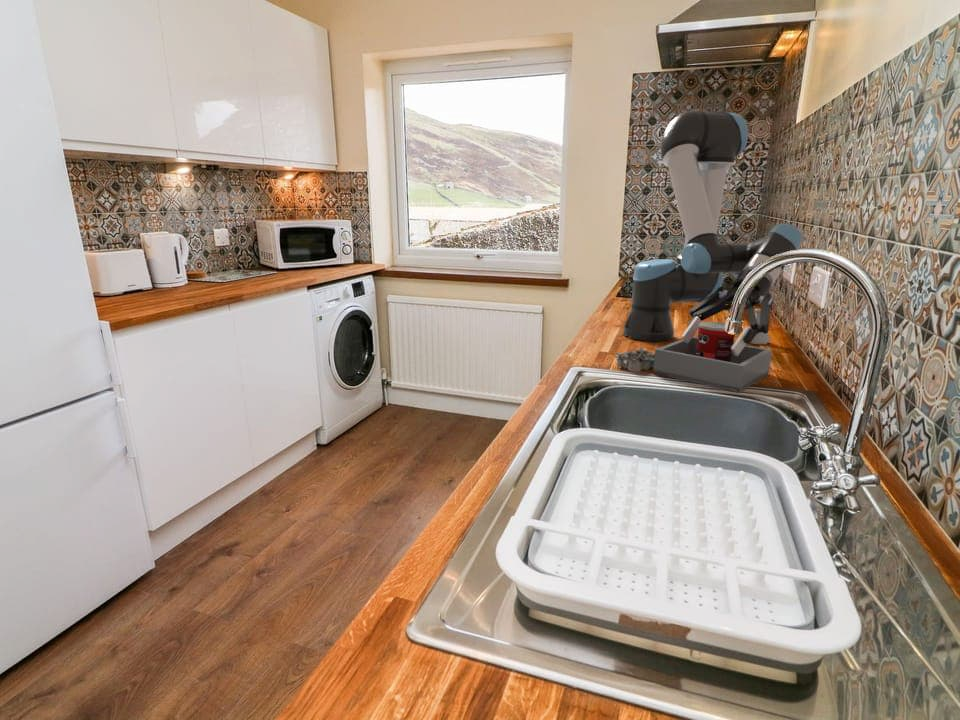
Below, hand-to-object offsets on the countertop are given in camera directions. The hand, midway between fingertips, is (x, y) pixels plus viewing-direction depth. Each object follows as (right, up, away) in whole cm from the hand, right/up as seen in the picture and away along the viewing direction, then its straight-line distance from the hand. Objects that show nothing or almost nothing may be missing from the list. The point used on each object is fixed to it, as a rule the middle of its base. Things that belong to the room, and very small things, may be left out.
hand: (708, 345), depth 128 cm
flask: (+29, +2, +35) cm, 46 cm away
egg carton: (-14, -5, +9) cm, 18 cm away
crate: (+2, -7, +3) cm, 8 cm away
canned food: (+2, -6, +3) cm, 7 cm away
